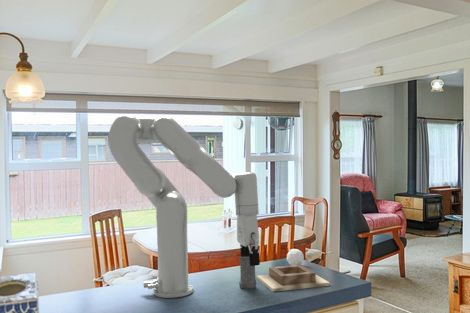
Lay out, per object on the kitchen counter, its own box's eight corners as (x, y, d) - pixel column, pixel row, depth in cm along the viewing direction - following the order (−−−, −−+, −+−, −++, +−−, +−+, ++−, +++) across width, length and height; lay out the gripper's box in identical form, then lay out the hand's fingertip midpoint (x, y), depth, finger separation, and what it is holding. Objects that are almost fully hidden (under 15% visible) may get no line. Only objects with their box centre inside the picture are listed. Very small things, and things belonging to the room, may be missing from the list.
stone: (255, 289, 139) (255, 258, 139) (238, 288, 140) (238, 257, 140) (256, 286, 142) (256, 256, 142) (240, 285, 143) (239, 255, 143)
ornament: (301, 268, 163) (288, 253, 163) (291, 271, 169) (279, 256, 169) (310, 257, 167) (298, 242, 167) (300, 260, 173) (288, 246, 173)
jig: (272, 291, 136) (272, 279, 136) (256, 278, 151) (256, 267, 151) (329, 285, 141) (329, 273, 141) (308, 273, 156) (308, 262, 156)
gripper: (229, 208, 148) (232, 257, 148) (243, 214, 132) (246, 269, 132) (250, 206, 150) (252, 255, 150) (266, 211, 134) (269, 266, 134)
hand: (250, 261), depth 141 cm, fingers open, 9 cm apart
